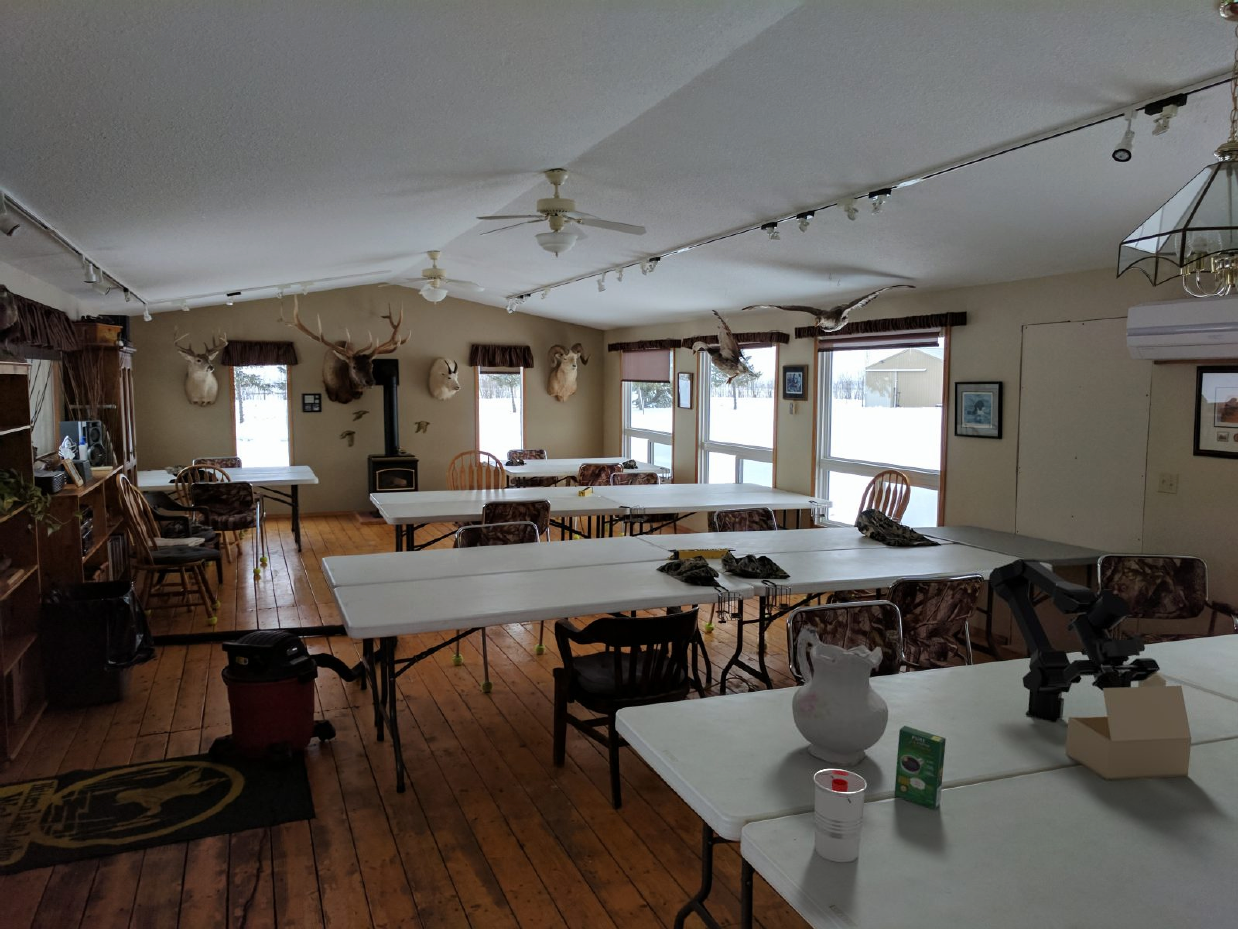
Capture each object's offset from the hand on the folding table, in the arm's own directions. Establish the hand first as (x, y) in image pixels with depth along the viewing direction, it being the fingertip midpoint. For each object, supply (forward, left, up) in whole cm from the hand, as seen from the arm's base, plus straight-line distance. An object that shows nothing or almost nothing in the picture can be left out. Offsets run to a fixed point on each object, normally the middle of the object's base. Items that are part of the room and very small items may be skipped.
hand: (1129, 709), depth 173 cm
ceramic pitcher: (-47, -36, -12) cm, 60 cm away
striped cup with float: (-28, -71, -12) cm, 77 cm away
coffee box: (-25, -45, -12) cm, 53 cm away
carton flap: (+3, -3, +1) cm, 4 cm away
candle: (-2, +37, -12) cm, 39 cm away
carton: (0, 0, -12) cm, 12 cm away
